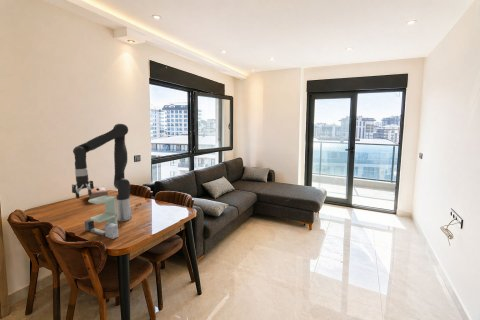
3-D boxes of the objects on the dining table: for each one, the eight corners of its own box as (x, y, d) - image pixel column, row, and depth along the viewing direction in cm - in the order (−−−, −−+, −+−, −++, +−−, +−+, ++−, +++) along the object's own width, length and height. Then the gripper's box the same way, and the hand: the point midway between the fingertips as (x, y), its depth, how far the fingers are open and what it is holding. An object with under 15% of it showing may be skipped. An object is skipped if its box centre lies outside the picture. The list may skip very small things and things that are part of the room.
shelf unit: (108, 228, 182) (105, 195, 178) (118, 230, 177) (115, 196, 174) (91, 235, 170) (88, 200, 166) (101, 238, 166) (98, 202, 162)
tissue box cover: (108, 201, 245) (107, 191, 244) (91, 203, 237) (90, 193, 236) (104, 194, 266) (104, 185, 265) (89, 197, 258) (88, 187, 257)
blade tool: (90, 228, 181) (90, 219, 180) (107, 233, 173) (106, 223, 172) (85, 230, 178) (84, 221, 177) (102, 235, 170) (101, 225, 169)
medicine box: (118, 236, 169) (118, 224, 167) (113, 239, 165) (112, 226, 163) (110, 234, 172) (109, 222, 171) (105, 237, 168) (104, 224, 167)
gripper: (87, 172, 185) (90, 193, 187) (68, 176, 172) (70, 198, 175) (94, 173, 182) (96, 194, 184) (75, 177, 169) (77, 200, 172)
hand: (84, 196), depth 180 cm, fingers open, 8 cm apart
